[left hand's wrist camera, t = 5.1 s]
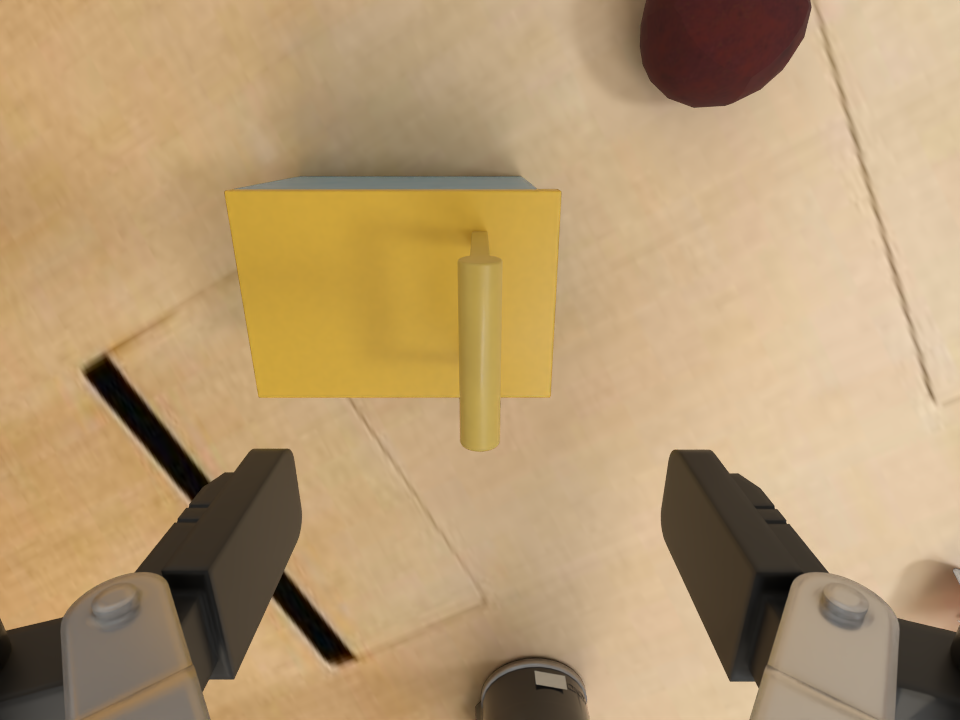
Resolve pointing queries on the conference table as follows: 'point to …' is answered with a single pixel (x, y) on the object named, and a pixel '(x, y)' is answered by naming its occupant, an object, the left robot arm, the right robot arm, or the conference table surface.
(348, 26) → the conference table surface
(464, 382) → the lid
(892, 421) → the conference table surface
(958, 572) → the fish
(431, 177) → the chest
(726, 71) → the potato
